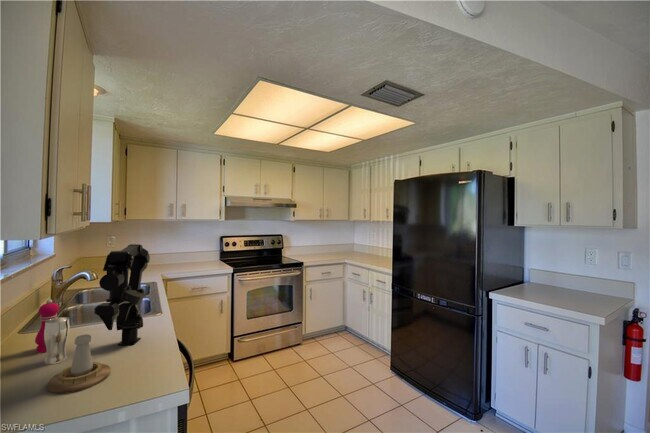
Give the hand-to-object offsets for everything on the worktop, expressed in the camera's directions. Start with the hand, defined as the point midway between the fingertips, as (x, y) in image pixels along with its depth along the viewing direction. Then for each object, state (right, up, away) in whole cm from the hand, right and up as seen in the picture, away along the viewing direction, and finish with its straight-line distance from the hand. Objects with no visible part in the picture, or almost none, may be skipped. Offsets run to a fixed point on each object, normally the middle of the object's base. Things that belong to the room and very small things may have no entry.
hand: (117, 325), depth 110 cm
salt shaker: (-2, -12, -13) cm, 18 cm away
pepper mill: (-33, -12, +6) cm, 35 cm away
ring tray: (-3, -13, -14) cm, 19 cm away
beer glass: (-21, -13, -2) cm, 25 cm away
